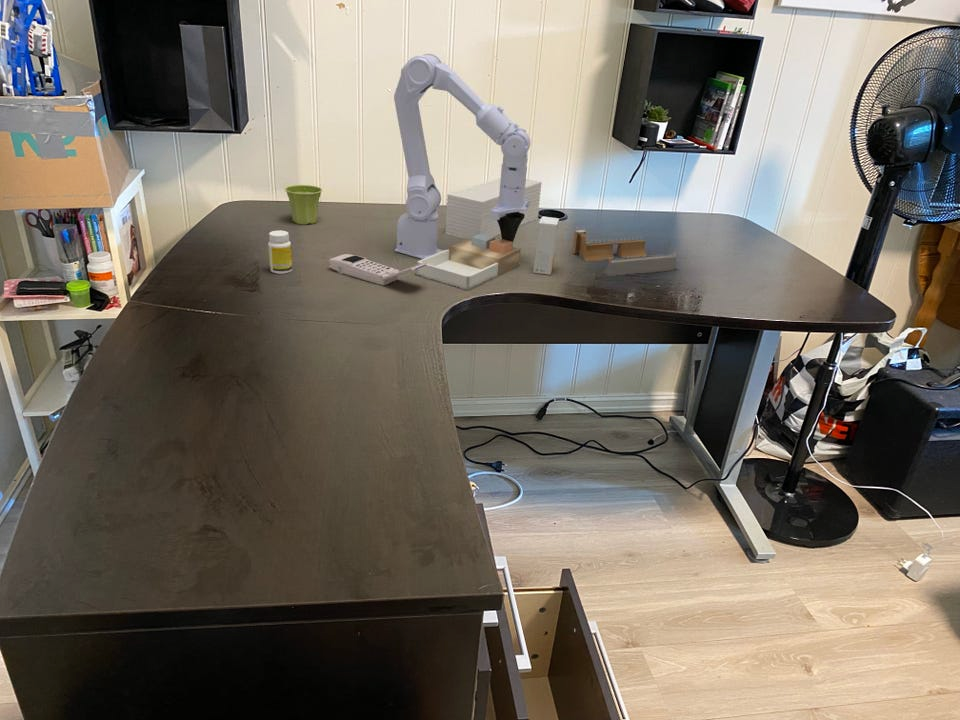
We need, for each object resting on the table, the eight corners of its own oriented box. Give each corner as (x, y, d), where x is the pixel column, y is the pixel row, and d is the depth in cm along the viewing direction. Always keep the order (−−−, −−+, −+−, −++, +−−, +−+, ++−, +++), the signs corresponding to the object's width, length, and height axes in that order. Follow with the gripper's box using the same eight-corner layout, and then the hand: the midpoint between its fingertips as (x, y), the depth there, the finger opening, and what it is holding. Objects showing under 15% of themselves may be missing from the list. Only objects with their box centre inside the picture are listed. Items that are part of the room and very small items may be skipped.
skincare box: (551, 275, 163) (557, 224, 157) (532, 273, 163) (538, 222, 158) (553, 267, 168) (559, 218, 162) (536, 265, 169) (541, 215, 163)
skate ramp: (601, 288, 159) (606, 256, 156) (529, 241, 187) (532, 213, 184) (703, 277, 171) (709, 247, 168) (620, 234, 199) (625, 208, 196)
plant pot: (294, 215, 192) (292, 183, 188) (328, 218, 191) (327, 186, 187) (281, 224, 184) (279, 191, 180) (316, 228, 183) (314, 194, 179)
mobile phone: (412, 269, 143) (319, 242, 154) (411, 296, 146) (320, 268, 157) (429, 262, 148) (338, 237, 159) (428, 288, 151) (338, 262, 162)
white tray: (415, 274, 157) (416, 261, 156) (446, 261, 166) (447, 249, 165) (468, 290, 151) (468, 277, 149) (497, 275, 160) (498, 263, 158)
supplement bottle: (296, 271, 154) (294, 233, 150) (278, 275, 151) (275, 237, 147) (284, 265, 157) (282, 228, 153) (265, 269, 154) (262, 232, 150)
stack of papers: (506, 211, 211) (509, 175, 206) (537, 218, 206) (541, 181, 201) (445, 234, 186) (447, 194, 181) (479, 243, 181) (482, 201, 177)
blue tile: (471, 245, 166) (471, 237, 165) (480, 241, 169) (481, 233, 168) (485, 249, 164) (486, 240, 163) (494, 245, 167) (495, 237, 166)
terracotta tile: (488, 250, 163) (489, 241, 162) (497, 246, 166) (498, 238, 165) (503, 254, 161) (504, 245, 160) (512, 250, 164) (513, 241, 164)
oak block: (450, 262, 166) (451, 246, 164) (473, 252, 173) (474, 237, 172) (497, 275, 160) (498, 259, 158) (519, 265, 167) (520, 248, 166)
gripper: (511, 194, 152) (506, 254, 158) (543, 183, 163) (537, 240, 169) (484, 188, 155) (479, 247, 162) (516, 178, 167) (511, 234, 173)
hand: (507, 243), depth 166 cm, fingers closed
